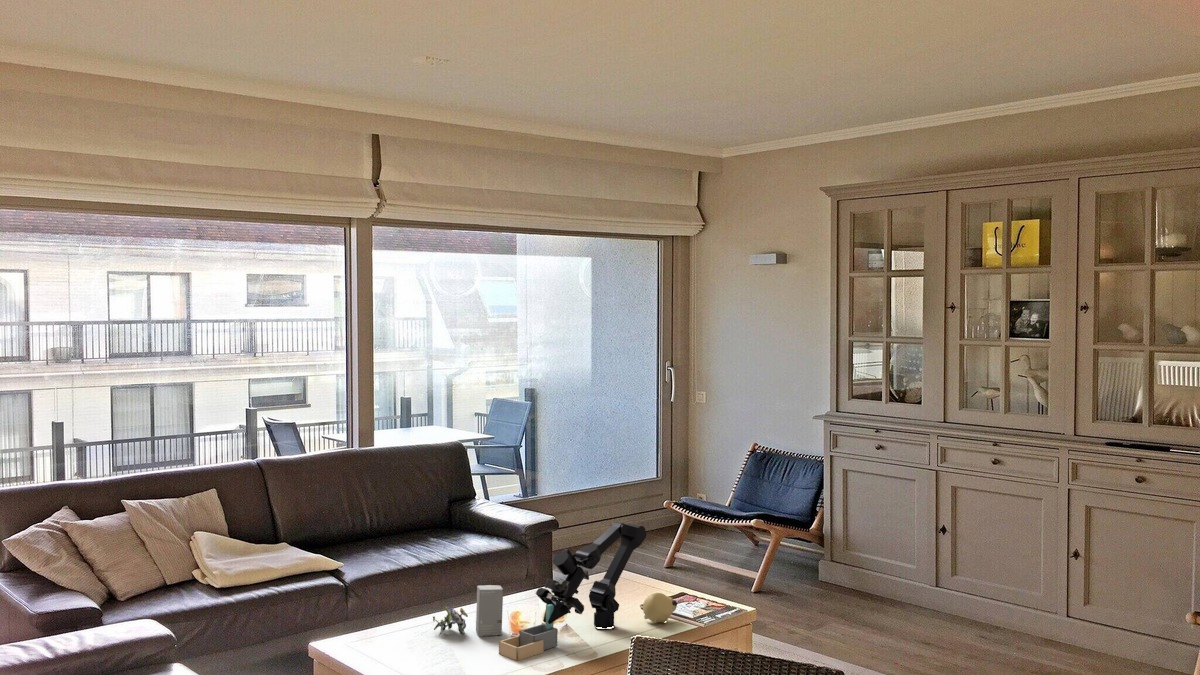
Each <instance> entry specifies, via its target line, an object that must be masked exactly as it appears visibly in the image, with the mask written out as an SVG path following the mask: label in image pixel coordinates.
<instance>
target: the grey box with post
mask: <svg viewBox="0 0 1200 675" xmlns="http://www.w3.org/2000/svg"><path fill="white" fill-rule="evenodd" d="M545 610H546V622H545V624H544V623H541V624H538V625H534V626H532V627H529V628H528V627H527V628H524V629H520V630H519V632H518V633H519V634H518V636H519V647H521V646H524V645H527V644H530V643H534V642H537V641H540V640H544V641H543V651H546V650H548V649H553V648H555V647H558V628H557V627H554V622H552V623H551V624H549V623H548V620H549V618H550V616H551V614H552V613H553V611H554V605H551V604H548V605H545Z"/></svg>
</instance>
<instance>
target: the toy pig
mask: <svg viewBox="0 0 1200 675" xmlns="http://www.w3.org/2000/svg"><path fill="white" fill-rule="evenodd" d="M677 606H678V602H677V601H676V600H674V599H673V597H671V596H668V595H666V594H664V593H662V592H654V593H652V594H650V595H648V596H647V598H645V600H644V602H643V605H642V610H643V614H644V616H643V618H644V620H650V621H651V622H653V623H655V624H656V623H663V622H665V621H667V622H668V620H669V619H670V617H671V615H672V614H673V613H674V612H675V611H676V610H677Z"/></svg>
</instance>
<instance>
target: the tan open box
mask: <svg viewBox="0 0 1200 675" xmlns="http://www.w3.org/2000/svg"><path fill="white" fill-rule="evenodd" d="M543 641H544V640H540V641H537V642H534V643H530V644H527V645H524V646H521V647H519V635H516V636H513V637H510V638H505V639H503V640H499V642H498V654H499V655H501V656H504V657H505V658H506V657H507V658H508V659H511V660H514V661H516V662H518V660H519V661H521V659H522V660H525V659H528V658H531V657H534V656H533V655H535V656H538V655H540V653H541V654H543V653H544V650H543ZM537 654H538V655H537ZM530 656H531V657H530ZM527 657H528V658H527ZM524 658H525V659H524Z"/></svg>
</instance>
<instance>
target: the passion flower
mask: <svg viewBox="0 0 1200 675" xmlns="http://www.w3.org/2000/svg"><path fill="white" fill-rule="evenodd" d="M444 609H445V611H446V612H447V615H446V616H443V617H444V620H443V619H441V620H440V622H439V621H438V620H437V619H436V617H435V616H432V619H433V622H435V621H436V623H437V624H436V625H435V627H434V628H433V631H435V630H436V629H437V628H439V627H440V631H439V632H440V633H439V635H438V636H441V634H442V633H443V632H444V631H445V630H446V628H448V630H451V629H452V627H453V625H457V629H458V632H459V633H460V634H461V635H463V636H464V634H465V635H466V632H465V629H466V627H467V623H466V619H465V618H463V616H464V617H466V618H468V614H467V613H466V610H465V609H464V608H462V607H460V608H459V612H458V610H456V609H454V608H451V607H450V608H448V606H445V607H444ZM462 615H463V616H462Z"/></svg>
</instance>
